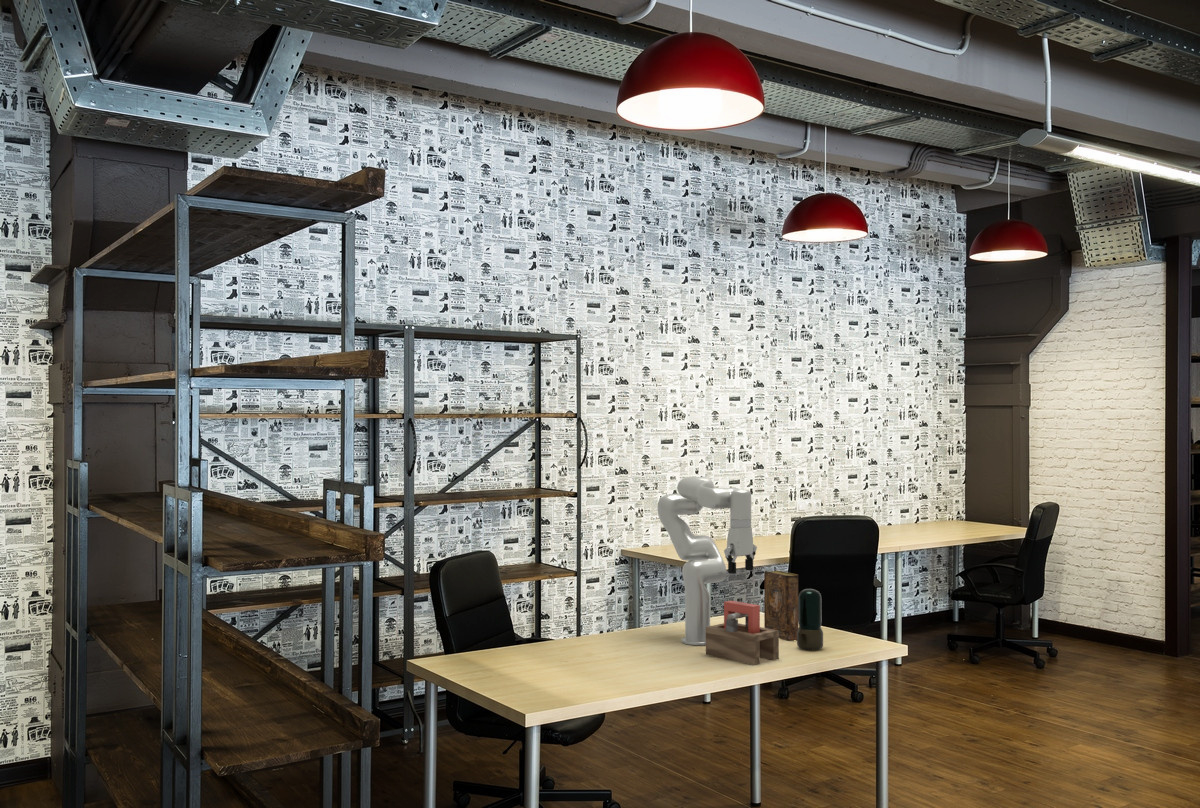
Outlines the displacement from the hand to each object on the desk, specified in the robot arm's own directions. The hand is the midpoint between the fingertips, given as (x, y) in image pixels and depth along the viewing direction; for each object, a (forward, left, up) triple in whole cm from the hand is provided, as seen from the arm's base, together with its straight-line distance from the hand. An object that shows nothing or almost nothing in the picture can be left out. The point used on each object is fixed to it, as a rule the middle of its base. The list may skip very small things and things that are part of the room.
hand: (740, 571), depth 358 cm
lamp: (-29, +10, -31) cm, 43 cm away
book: (-39, -10, -31) cm, 50 cm away
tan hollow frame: (0, +1, -30) cm, 30 cm away
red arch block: (0, 0, -24) cm, 24 cm away
